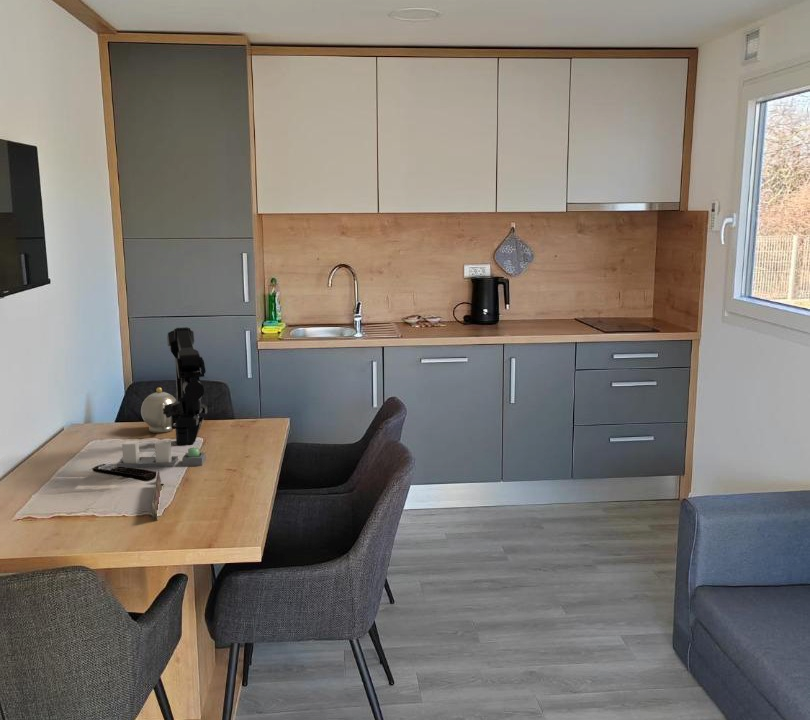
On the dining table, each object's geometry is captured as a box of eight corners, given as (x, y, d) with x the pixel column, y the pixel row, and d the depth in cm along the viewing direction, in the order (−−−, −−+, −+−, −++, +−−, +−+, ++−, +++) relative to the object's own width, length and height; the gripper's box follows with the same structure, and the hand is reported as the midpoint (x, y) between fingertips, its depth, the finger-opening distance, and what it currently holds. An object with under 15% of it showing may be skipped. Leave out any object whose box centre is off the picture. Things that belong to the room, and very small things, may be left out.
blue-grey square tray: (129, 453, 267) (129, 450, 267) (159, 453, 268) (159, 449, 267) (120, 462, 257) (120, 459, 257) (152, 462, 258) (151, 458, 258)
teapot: (140, 427, 301) (137, 385, 298) (177, 424, 306) (175, 382, 304) (145, 439, 285) (142, 394, 282) (184, 435, 290) (182, 391, 287)
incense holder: (158, 521, 207) (157, 501, 206) (153, 522, 207) (152, 502, 206) (163, 485, 236) (162, 467, 235) (159, 485, 236) (158, 468, 235)
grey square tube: (186, 463, 256) (186, 452, 256) (205, 462, 257) (205, 452, 256) (182, 469, 251) (182, 458, 250) (202, 468, 251) (201, 457, 250)
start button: (189, 457, 255) (189, 447, 254) (200, 457, 255) (200, 447, 254) (187, 460, 252) (187, 450, 251) (198, 460, 252) (198, 450, 251)
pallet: (124, 463, 256) (123, 456, 256) (178, 462, 257) (178, 455, 257) (116, 471, 248) (116, 464, 248) (172, 470, 249) (172, 463, 249)
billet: (139, 462, 255) (138, 440, 253) (136, 465, 251) (135, 444, 249) (127, 462, 254) (125, 440, 253) (123, 466, 250) (122, 444, 249)
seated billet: (159, 461, 255) (157, 440, 254) (171, 461, 255) (170, 440, 254) (155, 465, 251) (154, 443, 250) (168, 465, 251) (167, 443, 250)
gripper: (171, 387, 258) (174, 434, 261) (157, 400, 240) (160, 450, 243) (206, 387, 259) (208, 433, 262) (194, 399, 241) (197, 450, 243)
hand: (193, 441), depth 252 cm, fingers closed
